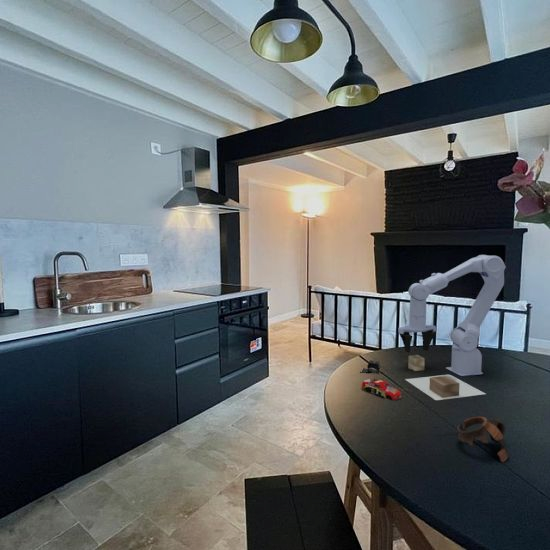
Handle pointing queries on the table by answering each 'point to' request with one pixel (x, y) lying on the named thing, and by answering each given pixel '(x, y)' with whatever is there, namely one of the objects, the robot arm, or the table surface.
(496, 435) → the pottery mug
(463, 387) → the board
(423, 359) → the maple block
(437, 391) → the walnut block
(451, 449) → the table surface
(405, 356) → the table surface
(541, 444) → the table surface
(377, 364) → the black angular block
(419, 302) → the robot arm
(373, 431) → the table surface
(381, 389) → the race car
